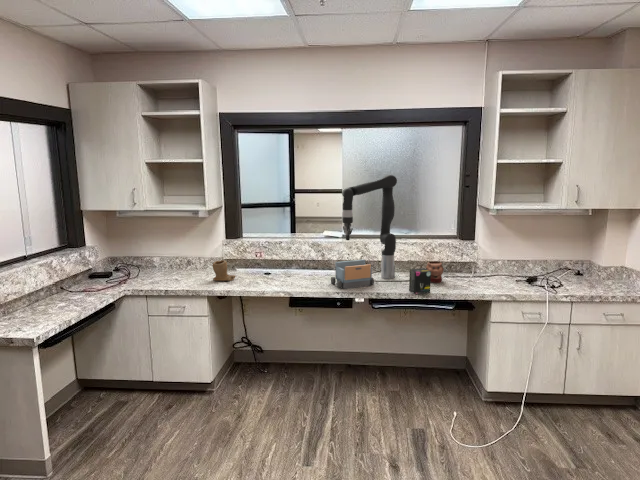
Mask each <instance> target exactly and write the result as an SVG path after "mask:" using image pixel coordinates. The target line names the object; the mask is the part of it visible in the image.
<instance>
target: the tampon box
mask: <svg viewBox="0 0 640 480" xmlns="http://www.w3.org/2000/svg"><path fill="white" fill-rule="evenodd" d="M408 280H409V281H408V282H409V283H408V284H409V286H408V287H409V288H408V289H409V291H410V292H411V293H413V294H415V295H422V294H430V293H431V285H432V282H431V271H429V270H427V269H426V268H423V267H422V268H410V269H409V279H408Z"/></svg>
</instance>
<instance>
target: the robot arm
mask: <svg viewBox="0 0 640 480" xmlns="http://www.w3.org/2000/svg"><path fill="white" fill-rule="evenodd" d="M397 179H398V178H397V177H396V176H395V175H393V174H385V175H384V176H383V177H382V178H381V179H378V180H374V181H370V182H369V181H368V182H364V183H361V184H357V185H355V186H350V187H346V188H343V190H342V191H341V195H342V197H343V202H342V213H341V214H342V215H341V216H342V217H341V218H342V221H341V222H342V224H343V225H342V229H343V233H344V234H345V241H350V237H351V236H350V235H352V233H353V230H354V229H353V227H352V223H353V222H354V211H353V202H354V201H353V200H354V197H355V196H360V195H364V194H369V193H370V192H373V191H377V190H381V189H382V200H381V226H380V234H379V240H380V244H382V245H384V247H383V248H384V249H383V250H381V268H380V271H381V272H380V277H381V278H382V279H388V280H389V279H394V278H395V277H396V276H395V274H396V270H395V269H396V265H395V252H396V249H397V248H396V245H397V237H396V235H395V234H393V233H392V232H391V224H392V222H393V221H394V218H395V209H396V208H395V206H396V205H395V200H394V196H393V195H394V194H393V192H394V191H393V189H394V187H395V186H396V185H397V184H398V183H397V182H398V180H397Z"/></svg>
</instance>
